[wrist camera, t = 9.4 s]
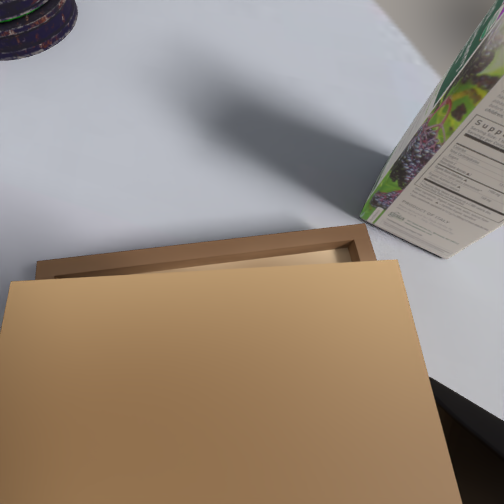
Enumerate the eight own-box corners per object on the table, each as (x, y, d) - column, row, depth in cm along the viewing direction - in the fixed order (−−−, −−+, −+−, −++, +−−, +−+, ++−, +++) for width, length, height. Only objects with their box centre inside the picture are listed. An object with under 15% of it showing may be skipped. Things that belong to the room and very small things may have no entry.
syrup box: (387, 154, 23) (611, -192, 9) (473, 193, 22) (855, -128, 8) (356, 219, 21) (586, -108, 7) (450, 265, 20) (908, -11, 6)
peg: (282, 466, 15) (552, 843, 2) (181, 477, 15) (-135, 991, 2) (272, 362, 17) (397, 259, 4) (181, 369, 17) (9, 281, 4)
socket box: (445, 594, 14) (498, 643, 11) (42, 693, 12) (-15, 781, 9) (346, 247, 20) (365, 223, 17) (66, 281, 18) (36, 261, 15)
